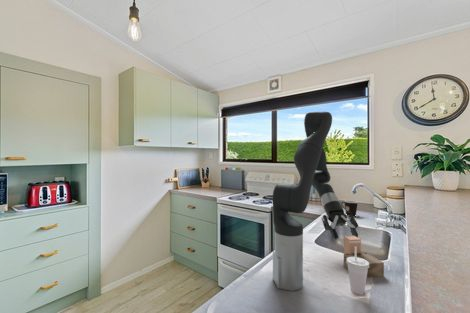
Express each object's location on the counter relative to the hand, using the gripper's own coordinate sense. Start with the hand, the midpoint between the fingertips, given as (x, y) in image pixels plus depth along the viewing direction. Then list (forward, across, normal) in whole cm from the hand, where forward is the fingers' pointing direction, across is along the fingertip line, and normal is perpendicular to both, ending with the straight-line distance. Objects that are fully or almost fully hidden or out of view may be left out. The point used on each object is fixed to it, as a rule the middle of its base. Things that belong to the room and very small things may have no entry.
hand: (346, 238), depth 92 cm
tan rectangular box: (+8, 0, +4) cm, 9 cm away
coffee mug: (-40, +46, +53) cm, 81 cm away
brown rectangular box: (+13, 0, -1) cm, 13 cm away
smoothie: (+21, -10, -8) cm, 25 cm away
